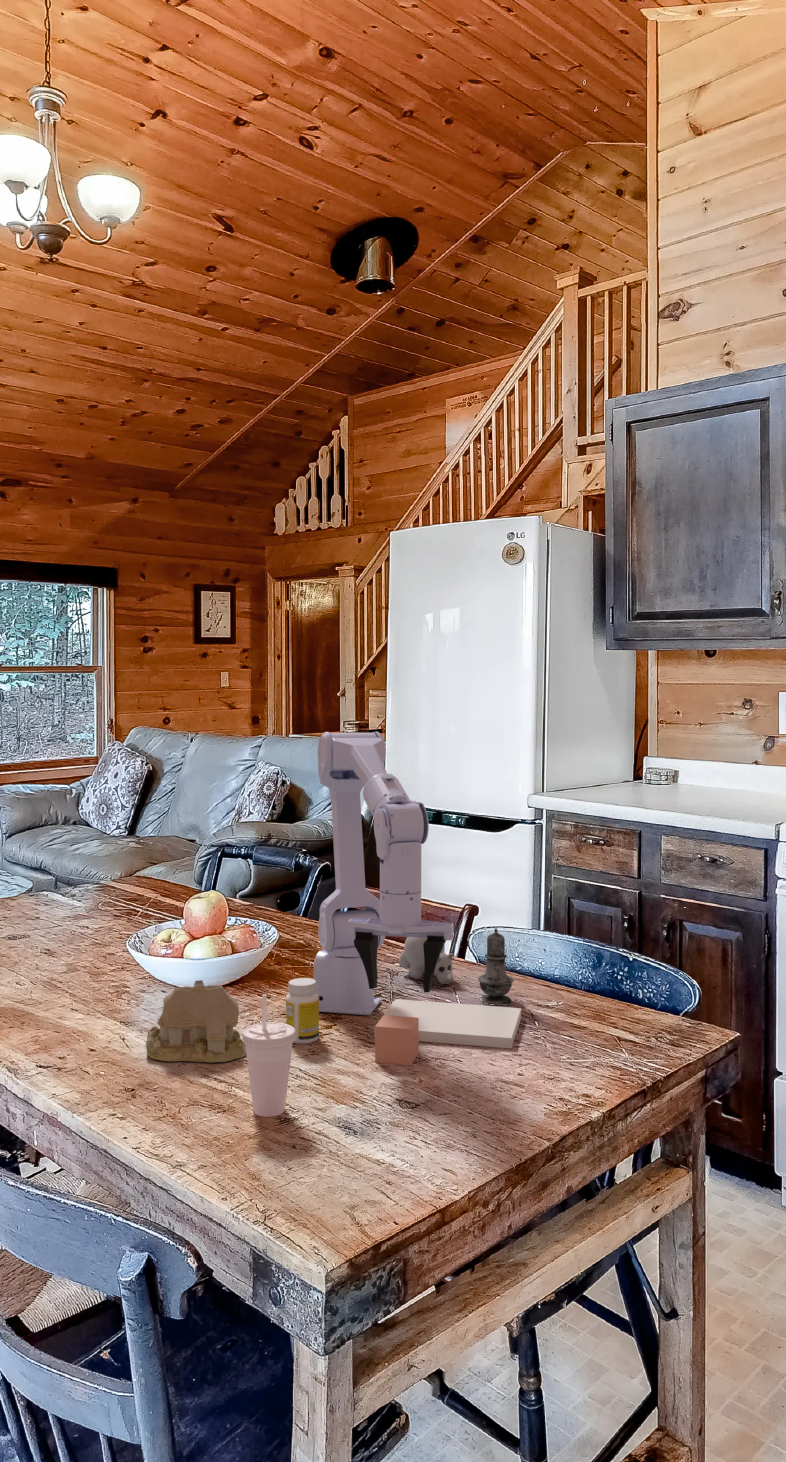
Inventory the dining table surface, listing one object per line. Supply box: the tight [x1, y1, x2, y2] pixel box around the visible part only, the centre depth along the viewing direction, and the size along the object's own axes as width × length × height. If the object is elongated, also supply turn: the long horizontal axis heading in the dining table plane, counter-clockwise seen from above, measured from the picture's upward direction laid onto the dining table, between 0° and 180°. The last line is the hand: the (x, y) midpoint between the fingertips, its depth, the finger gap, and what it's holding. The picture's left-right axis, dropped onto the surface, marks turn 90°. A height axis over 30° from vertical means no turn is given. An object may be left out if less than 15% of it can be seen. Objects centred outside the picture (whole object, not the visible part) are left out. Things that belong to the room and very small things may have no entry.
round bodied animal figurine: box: [398, 937, 454, 985], centre depth 176 cm, size 7×12×8 cm, turn 34°
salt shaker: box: [477, 927, 515, 1006], centre depth 163 cm, size 6×6×12 cm
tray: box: [373, 998, 522, 1049], centre depth 150 cm, size 20×14×2 cm
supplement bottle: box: [285, 977, 320, 1045], centre depth 145 cm, size 5×5×8 cm
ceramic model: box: [145, 979, 247, 1063], centre depth 140 cm, size 14×11×10 cm
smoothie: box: [241, 993, 296, 1118], centre depth 119 cm, size 6×6×14 cm
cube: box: [374, 1014, 420, 1066], centre depth 138 cm, size 5×5×5 cm
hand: (400, 988), depth 138 cm, fingers open, 7 cm apart
